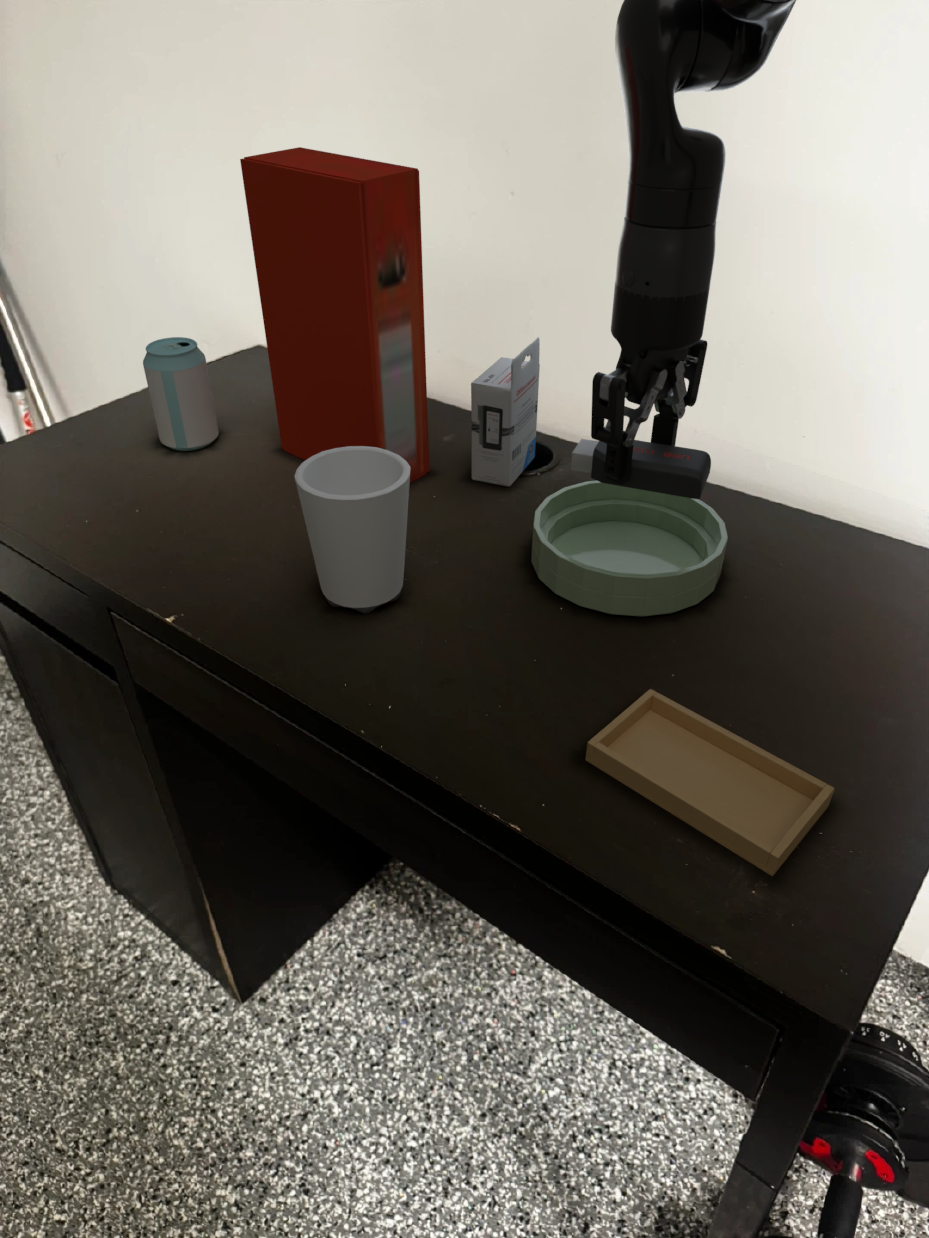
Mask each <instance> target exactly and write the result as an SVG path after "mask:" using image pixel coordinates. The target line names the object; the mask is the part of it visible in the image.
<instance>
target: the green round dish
mask: <svg viewBox="0 0 929 1238" xmlns="http://www.w3.org/2000/svg"><path fill="white" fill-rule="evenodd" d="M531 540H532V542H531V560H530V562H531V564H532V567H533V569H534V571H535V573H536V575H537V578H538V580H540V581H541V582H542V583H543V584H544V586H546V587H547V588H549V589H550V591H552V592H553V593H554V594H555V595H557V596H559V597H561V598H563V599H565V600H567V601H570V602H571V603H572V604H575V605H577V606H579V607H582V608H586V609H590V610H593V611H597V612H600V613H605V614H609V615H616V616H617V615H619V616H631V617H651V616H658V615H659V616H660V615H666V614H667V615H668V614H673V613H676V612H679V611H682V610H686V609H687V608H690V607H693V606H696V605H698V604H699V603H701V602H702V601H703V600H705V598H707V597H708V596H710V595H711V594H712V593H713V592H714V591H715V590H716V589H715V588H716V587H717V584H718V583H719V580H720V577H721V575H722V569H723V566H724V565H723V564H724V559H725V555H726V550H727V547H728V546H727V545H728V540H729V536H728V532H727V527H726V523H725V521H724V520H723V519H722V517H720V515H719V514H718V513H717V512H716V510H715V509H714V508H712V507H711V506H710V505H709V504H707V503H705V502H704V501H702V499H701V500H700V499H693V498H687V497H681V496H675V495H669V494H663V493H658V492H652V491H646V490H640V489H634V488H629V487H623V486H617V485H611V484H605V483H601V482H599V481H597V480H587V481H582V482H579V483H576V484H572V485H568V486H564V487H562V488H561V489H559V490H557V491H556V492H553V493H552V494H550V495H547V496H546V497H545V498H544V499H543V501H542V502H541V503H540V504H539V505H538V506H537V507H536V509H535V510H534V517H533V525H532V539H531Z"/></svg>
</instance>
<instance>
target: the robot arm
mask: <svg viewBox="0 0 929 1238" xmlns="http://www.w3.org/2000/svg"><path fill="white" fill-rule="evenodd" d="M796 2H797V0H623V1H622V4H621V7H620V9H619V12H618V15H617V18H616V19H617V20H616V24H615V32H614V33H615V34H614V51H615V60H616V67H617V74H618V80H619V85H620V86H619V87H620V91H621V97H622V104H623V112H624V119H625V128H626V137H627V146H628V174H627V182H626V183H627V184H626V195H625V206H624V214H623V215H624V217H623V222H622V223H623V224H622V229H621V234H620V237H619V243H618V247H617V248H618V249H617V257H616V268H615V269H616V270H615V280H614V289H613V300H612V310H611V311H612V312H611V322H610V333H611V335H612V337H613V338H614V339H615V340H616V342H617V343H618V345H619V347H620V353H619V357H618V360H617V363H616V366H615V370H613V371H611V372H610V373H608V374H607V373H604V372H601V371H598V372H595V374H594V375H593V377H592V382H591V383H592V385H591V389H592V390H591V418H590V419H591V423H590V424H591V425H590V426H591V427H590V429H591V430H590V437H591V440H594V441H601V442H603V443H606V444H607V450H606V461H605V470H604V471H605V477H606V478H607V479H608V480H610V481H613V482H615V483H618V484H621V485H622V484H624V483H626V482H628V481H629V479H630V472H631V463H632V455H633V446H634V445H633V442H634V440H636V439H635V438H636V437H637V434H638V431H639V429H640V426H641V424H642V423H645V422H647V421H648V419H649V417H650V414H651V412H652V409H653V406H654V409H655V412H656V414H654V415H653V420H652V427H651V428H652V429H651V437H650V442H651V443H658V444H664V445H670V446H676V442H677V435H678V427H679V420H681V419H682V418H683V417H684V416H685V413H686V407H690V408H691V407H694V406H695V404H696V402H697V400H698V394H699V389H700V385H701V379H702V375H703V369H704V366H705V365H704V364H705V359H706V355H707V349H708V341H707V340H705V339H702V337H703V334H704V329H705V321H706V315H707V310H708V309H707V308H708V302H709V296H710V290H711V289H710V288H711V282H712V277H713V270H714V263H715V256H716V234H717V233H716V231H717V220H718V213H719V207H720V200H721V193H722V187H723V181H724V175H725V174H724V173H725V166H726V159H727V157H726V154H727V152H726V151H727V150H726V145H725V143H724V141H723V139H722V138H721V137H720V136H718V135H717V134H715V133H713V132H712V131H711V132H710V131H707V130H703V129H699V128H693V127H689V126H684V125H682V123H681V121H680V119H679V115H678V112H677V108H676V103H675V94H685V93H704V92H705V93H708V92H710V93H711V92H724V91H728V90H732V89H734V88H736V87H739V86H740V85H743V84H744V83H746V82H748V81H749V80H750V79H751V78H753V77H754V76H755V75H756V74H758V73H759V72H760V71H761V69H762V68H763V67H764V65H765V64H766V62H767V61H768V58H769V57H770V54H771V52H772V50H773V48H774V46H775V43H776V42H777V40H778V37H779V36H780V34H781V32H782V30H783V29H784V26H785V24H786V23H787V20H788V18H789V17H790V14H791V12H792V10H793V8H794V7H795V4H796ZM685 379H686V380H687V381H688V385H687V386H686V381H685ZM626 400H627V401H628V402H630V403H633V404H635V405H638V407H637V408H632V407H629V406H626V405H625V403H626ZM625 417H627V418H628V422H627V425H626V427H625V429H624V426H625V425H624V424H625ZM605 420H607V422H606V424H605Z"/></svg>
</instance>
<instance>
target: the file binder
mask: <svg viewBox="0 0 929 1238" xmlns="http://www.w3.org/2000/svg"><path fill="white" fill-rule="evenodd" d="M239 161H240V168H241V174H242V183H243V189H244V194H245V195H244V196H245V203H246V211H247V217H248V224H249V229H250V237H251V244H252V251H253V258H254V265H255V266H254V267H255V271H256V272H255V273H256V280H257V285H258V286H257V287H258V293H259V299H260V306H261V307H260V308H261V313H262V320H263V321H262V322H263V327H264V334H265V341H266V348H267V355H268V356H267V357H268V362H269V368H270V369H269V370H270V377H271V383H272V391H273V396H274V397H273V398H274V404H275V411H276V418H277V424H278V425H277V426H278V430H279V431H278V432H279V438H280V444H281V449H282V450H283V451H284V452H286V453H287V454H290V455H292V456H294V457H296V458H298V459H300V460H303V461H305V460H307V459H308V458H310V457H311V456H313V455H316V454H318V453H320V452H322V451H326V450H330V449H334V448H341V447H348V446H368V447H377V448H381V449H385V450H388V451H391V452H393V453H395V454H397V455H399V456H401V457H402V458H403V459H405V460H406V461H407V463H408V464H409V466H410V467H411V468H410V483H412V482H414V481H417V480H419V479H420V478H422V477H423V476H426V475H427V473H429V472H430V451H429V449H430V447H429V423H428V422H429V419H428V416H429V415H428V389H427V362H426V361H427V359H426V332H425V331H426V330H425V303H424V301H425V300H424V273H423V271H424V270H423V246H422V245H423V244H422V243H423V242H422V241H423V240H422V215H421V214H422V213H421V185H420V170H419V168H417V167H412V166H406V165H401V164H394V163H389V162H385V161H379V160H372V159H366V158H361V157H356V156H351V155H345V154H340V153H333V152H328V151H323V150H316V149H311V148H306V147H293V148H288V149H282V150H276V151H271V152H270V151H269V152H266V153H265V152H264V153H260V154H253V155H249V156H244V157H243V158H240V159H239Z"/></svg>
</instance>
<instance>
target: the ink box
mask: <svg viewBox="0 0 929 1238" xmlns="http://www.w3.org/2000/svg"><path fill="white" fill-rule="evenodd" d="M540 345H541V344H540V337H539V336H537V337H536V338H535V339H534V340H533V341H532V342H531V343H529V344H528V345H527V346H526V347H525V348H523V350H522V351H521V352H520V353H519V354H517V355H516V356H515V357H514V358H510V357H499V359H498V360H496V361H495V362H494V363H493V364H492V365H490V366H489V367H488V368H487V369H485V371H484V372H482V373H481V374H480V375H479V376H478V377H476V378H475V379H474V380H473V381H471V383H470V404H471V405H470V407H471V409H470V410H471V412H470V413H471V417H470V418H471V420H470V421H471V422H470V423H471V426H470V427H471V428H470V429H471V431H470V432H471V433H470V434H471V437H470V438H471V443H470V445H471V446H470V448H471V451H470V453H471V479H472V480H473V481H478V482H482V483H488V484H493V485H498V486H503V487H507V488H508V487H511V486H512V485H513V484H514V482H515V481H516V480H517V479H518V478H519V477H520V475H521V474H522V473H523V472H524V471H525V470H526V469H527V467H529V465H530V464H531V463H532V461H533V460H534V459H535V457H536V446H537V445H536V444H537V443H536V442H537V425H538V423H537V422H538V407H539V406H538V405H539V404H538V403H539V386H540V368H541V367H540V366H541V365H540V350H541V349H540ZM526 357H527V358H528V357H529V360H528V361H526Z"/></svg>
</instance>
